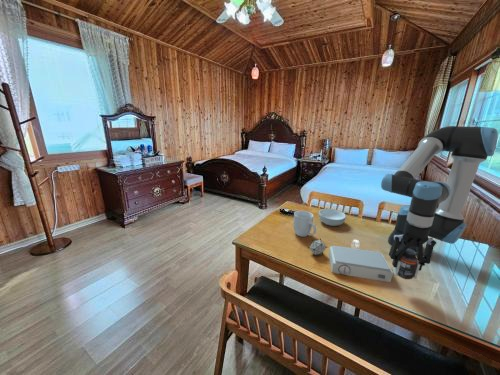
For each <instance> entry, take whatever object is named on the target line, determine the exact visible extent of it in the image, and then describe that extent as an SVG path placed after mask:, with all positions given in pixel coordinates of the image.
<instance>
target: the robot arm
mask: <svg viewBox="0 0 500 375" xmlns="http://www.w3.org/2000/svg"><path fill="white" fill-rule="evenodd" d="M498 133H499V132H498V130H497V129H496V128H495V127H486V126H456V125H448V126H443V127H439V128H437V129H435V130H433V131H431V132H430V133H428V134H426V135H424V136H423V137H422V138H421V140H420V141H419V142H418V144H417V147H416V149H415V150H414V151H413V152H412V153H411V155H410V156H409V157H408V158H407V159H406V160H405V161H404V162H403V164H401V166H400V167H399V169H397V171H396V172H395V173H394V174H393V173H387V174H384V175H383V177H382V179H381V182H380V185H381V189H382V190H384V191H385V192H386V191H387V192H388V193H393V194H397V195H399V196H400V195H401V196H405V197H409V198H411V200H410V204H406V205H405V204H404V205H402V206H400V208H399V211H398V213H397V218H396V221H395V225H394V229H393V231H392V232H391V233H390V235H389V236H388V239H387V242H388V244H389V245H390V246H391V247H390V249H389V253H388V256H389V258H390V259H392V263H391V264H392V266H393V269H392V272H393V275H394V276H398V271H399V268H400V264H401V261H400V258H401V257H402V256H403V254H404V253H405V251H406V250H407V249H412V250H414V251H415V252H416V257H417V259H418V262H417V265H416V269H415V272H414V276H413V278H414V279H417V277H418V274H419V272H420V271H422V270H423V269H422V268H423V266H426V264H427V265H429V264H431V259H432V256H433V251H434V250H433V249H434V247H435V246H436V245H437V241H436V240H438V241H440V242H444V243H447V244H449V245H452V244H455V243H457V241H458V240H459V239H460V237H461V236H462V234H464V232H465V229H466V227H467V226H468V224H467V223H466V222H465V217H464V216H463V214H462V213H463V210H464V207H465V205H466V203H467V199H468V197H469V194H470V191H471V188H472V186H473V183H474V180H475V178H476V175H477V172H478V170H479V167H480V164H481V163H483V162H486V160H487V159H488V157H492V156H494V155H495V151H496V148H497V143H498V138H499V137H498ZM441 152H450V153H451V155H450V157H451V158H452V159H453V162H452V165H451V168H450V172H449V174H448V177H447V180H446V182H443V181H433V182H432V181H427V180H421V179H417V178H418V177H419V175H420V174H421V172H422V171H423V170H424V169H425V168H426V167H427V165H428V164H429V163H430V161H432V159H433V158H434V156H436V155H438V154H440V153H441ZM424 244H425V247H424V246H423V245H424ZM423 250H424V251H423Z"/></svg>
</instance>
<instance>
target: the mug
mask: <svg viewBox="0 0 500 375" xmlns="http://www.w3.org/2000/svg"><path fill="white" fill-rule="evenodd" d="M312 228H313V232H312V233H311V231H312ZM293 229H294V232H295V234H296V236H298V237H303V238H304V237H307V236H314V235H315V234H316V232H317V226H316V224H315V223H314V214H313V213H311V212H309V211H307V210H297V211H294V213H293Z"/></svg>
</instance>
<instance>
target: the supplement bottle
mask: <svg viewBox="0 0 500 375" xmlns="http://www.w3.org/2000/svg"><path fill="white" fill-rule="evenodd" d="M400 261H401V264H400V268H399V271H398V275H397V276H398V277H400V278H402V279H404V280H412V279H413V278H414V277H413V276H414V272H415V269H416V265H417V262H418V259H417V252H415V251H414V250H412V249H407V250H406V251H405V253H404V254H403V256H402V257H401V258H400Z"/></svg>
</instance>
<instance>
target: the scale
mask: <svg viewBox="0 0 500 375" xmlns="http://www.w3.org/2000/svg"><path fill="white" fill-rule="evenodd" d="M328 259H329V264H330V271H331V273H333V274H338V275H344V276H350V277H355V278H362V279H368V280H373V281H380V282H387V283H391V282H392V278H393V275H394V272H393V269H392V268H391V267H390V265H389V263H388V261H387V260H386V257H385V256H384V255H383V253H382V252H381V251H375V250H366V249H359V248H355V247H354V248H353V247H348V246H347V247H346V246H340V245H333V244H332V245H331V246H329V249H328Z"/></svg>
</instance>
